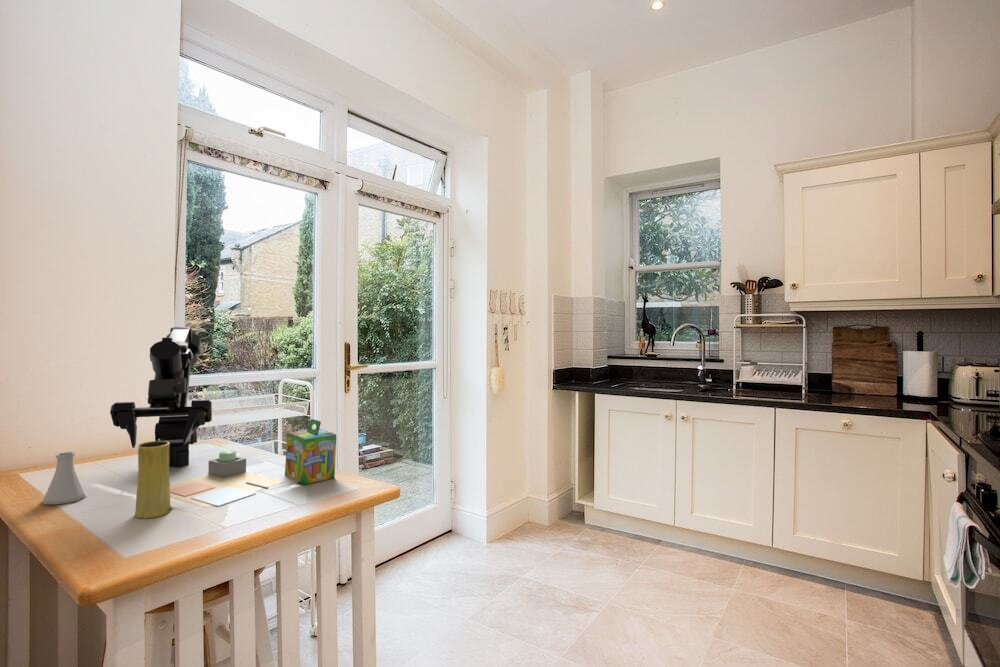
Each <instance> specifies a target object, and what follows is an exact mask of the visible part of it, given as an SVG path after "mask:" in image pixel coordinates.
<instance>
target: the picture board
mask: <svg viewBox="0 0 1000 667" xmlns="http://www.w3.org/2000/svg"><path fill="white" fill-rule="evenodd" d="M285 482H286V481H284V480H281V479H276V478H272V477H268V476H263V475H259V474H256V473H251V472H247V471H246V472H245V473H241V474H238V475H234V476H231V477H227V478H221V477H217V476H213V475H209V474H208V473H207V474H204V475H200V476H197V477H193V478H190V479H186V480H182V481H179V482H175V483H171V484H170V498H173V499H176V500H179V501H183V502H186V503H189V504H192V505H196V506H200V507H202V508H206V509H207V508H211V507H214V506H215V507H218V508H219V507H221V506H224V505H227V504H230V503H232V502H236V501H238V500H243V499H245V498H247V497H250V496H253V495H256V492H258V491H262V490H264V489H265V490H267V489H269V488H271V487H274V486H277V485H279V484H282V483H285Z"/></svg>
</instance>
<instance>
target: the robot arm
mask: <svg viewBox="0 0 1000 667" xmlns="http://www.w3.org/2000/svg"><path fill="white" fill-rule="evenodd" d="M201 354H202V341H201V337H200V335H198V334H196V333H195V332H194V331H193V328H192V327H189V326H174V327H173V326H172V327H171V328H170V330H169V333H168V334H167V335H166V337H161V340H159V341H157V342H155V343H154V344H152V346H150V348H149V360H150V362H151V364H152V371H153V372H154V378H153V379H150V380H149V381H148V387H147V388H148V389H147V395H148V396H147V404H148V405H149V406H148V407H145V406H144V407H136V403H135V401H124V402H122V401H121V402H114V403H113V404H112V405H110V411H109V413H110V416H111V419H112V420H111V421H112V424H113V426H115V427H117V428H120V429H121V430H126V432H127V434H128V436H129V440H130V443H131V446H132V447H131V448H132V449H134V448H136V444H137V432H138V428H137V427H138V426H137V421H138V418H146V417H147V418H150V417H154V418H155V417H159V418H158V422H156V423H155V426H154V441H167V442H169V443H170V446H169V468H182V467H187V466H189V465H190V445H194V444H196V443H197V442H198V430H197V429H199V427H201V426H204V425H206V423H210V422H211V421H212V419H213V406H212V405H213V404H212V403H213V402H212V400H210V399H192V400H191V403H190V404H191V405H190V406H188V399H189V398H188V396H189V387H190V378H191V377H190V375H191V369H192V367H193V366H194V365H196V363H197V362H198V358H199V355H201Z"/></svg>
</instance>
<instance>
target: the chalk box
mask: <svg viewBox="0 0 1000 667" xmlns="http://www.w3.org/2000/svg"><path fill="white" fill-rule="evenodd" d="M321 423H322V421H320V420H319V419H313V418H310V421H309V424H308V427H307V429H304V430H299V431H298V430H297V431H291V432H287V433H286V445H285V446H286V449H285V451H286V452H285V466H284V476H286V477H289V478H291V479H292V480H295V481H298V482H297V484H298V485H301V486H306V485H309V484H314V483H318V482H319V483H320V482H323V481H327V480H332V479H335V476H336V475H335V473H336V472H335V471H336V454H337V451H336V450H337V434H336V433H334V432H331V431H328V430H324V429H322V428H320V427H321ZM313 425H315V428H313Z"/></svg>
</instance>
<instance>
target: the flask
mask: <svg viewBox="0 0 1000 667" xmlns="http://www.w3.org/2000/svg"><path fill="white" fill-rule="evenodd" d="M75 454H76V453H75V452H74V451H66V452H58V453H56V454H55V458H56V468H55V472H54V474H53V476H52V479H51V482H50V484H49V486H48V488H47V491H46V493H45V494H44V496H43V499H42V503H43V505H62V504H69V503H75V502H78V501H80V500H82V499H84V498H86V493H85V491H84V489H83V487H82V485H81V482H80V480H79V478H78V475H77V473H76V471H75V467H74V456H75Z"/></svg>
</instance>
